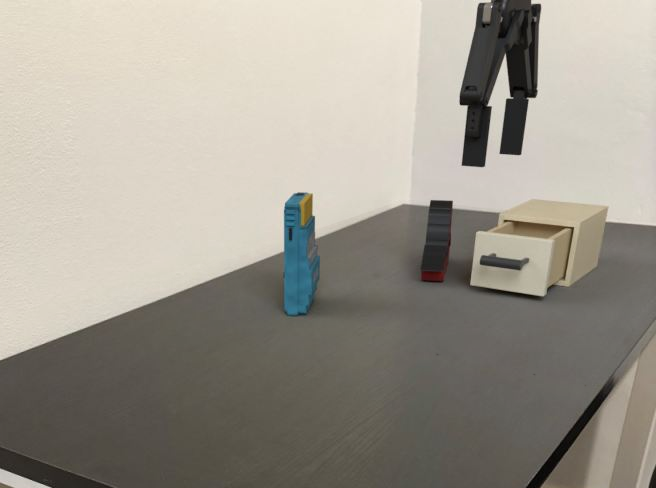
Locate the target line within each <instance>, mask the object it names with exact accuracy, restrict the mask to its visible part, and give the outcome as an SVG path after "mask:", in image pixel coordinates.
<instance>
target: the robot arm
mask: <svg viewBox="0 0 656 488" xmlns="http://www.w3.org/2000/svg"><path fill="white" fill-rule="evenodd" d="M476 8H477V9H476V15H475V16H476V17H475V26H474V31H473V35H472V39H471V44H470V49H469V53H468V57H467V61H466V65H465V70H464V74H463V78H462V83H461V87H460V91H459V96H458V97H459V102H458V103H459V105H460V106H462V107H463V106H466V107H467V108H466V118H465V127H464V138H463V148H462V157H461V167H472V168H484V167H486V160H487V151H488V144H489V135H490V127H491V119H492V109H493V105H492V106H491V105H489V103H490V100H491V97H492V95H493V91H494V89H495V86H496V82H497V80H498V76H499V74H500V71H501V68H502V65H503V61H504V59H505V60H506V61H505V63H506V70H507V79H508V89H509V97H510V98H509V97H508V98H505V107H504V113H503V122H502V128H501V129H502V130H501V137H500V138H501V139H500V146H499V155H508V156H521V155H522V151H523V145H524V139H525V138H524V136H525V130H526V124H527V115H528V109H529V100H530V99H537V96H538V94H539V93H538V91H539V89H538V87H539V84H538V81H539V80H538V79H539V44H540V43H539V37H540V21H541V13H542V3H532V0H490V2H479V3H478V5H477V7H476Z"/></svg>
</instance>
